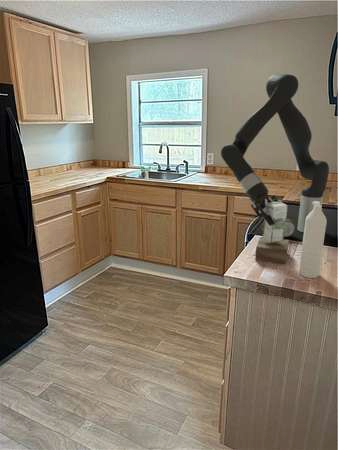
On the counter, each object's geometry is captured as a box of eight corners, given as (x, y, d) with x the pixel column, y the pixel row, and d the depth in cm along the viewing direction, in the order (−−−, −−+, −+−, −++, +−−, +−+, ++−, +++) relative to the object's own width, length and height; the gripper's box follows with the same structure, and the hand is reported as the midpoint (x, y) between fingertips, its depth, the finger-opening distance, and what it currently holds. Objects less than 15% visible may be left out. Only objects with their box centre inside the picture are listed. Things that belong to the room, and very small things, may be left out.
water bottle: (319, 279, 110) (330, 208, 102) (299, 277, 112) (308, 207, 103) (317, 268, 118) (326, 201, 109) (298, 266, 119) (305, 200, 111)
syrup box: (275, 236, 129) (278, 200, 124) (283, 241, 123) (287, 204, 119) (262, 237, 127) (265, 202, 123) (270, 243, 122) (274, 206, 117)
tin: (293, 235, 149) (295, 218, 147) (295, 238, 146) (297, 220, 144) (260, 235, 151) (261, 217, 148) (261, 237, 148) (262, 219, 145)
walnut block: (259, 250, 135) (260, 236, 133) (287, 254, 130) (288, 240, 128) (255, 261, 125) (256, 246, 123) (285, 265, 121) (286, 250, 119)
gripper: (249, 184, 119) (275, 221, 115) (270, 178, 128) (295, 212, 124) (236, 195, 124) (261, 231, 120) (257, 189, 133) (280, 222, 129)
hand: (278, 222), depth 122 cm, fingers closed on syrup box, 7 cm apart
